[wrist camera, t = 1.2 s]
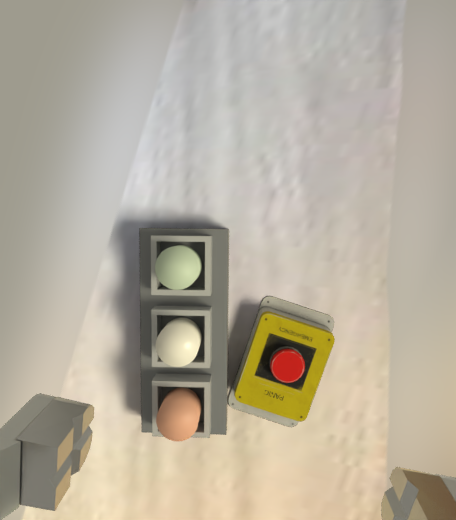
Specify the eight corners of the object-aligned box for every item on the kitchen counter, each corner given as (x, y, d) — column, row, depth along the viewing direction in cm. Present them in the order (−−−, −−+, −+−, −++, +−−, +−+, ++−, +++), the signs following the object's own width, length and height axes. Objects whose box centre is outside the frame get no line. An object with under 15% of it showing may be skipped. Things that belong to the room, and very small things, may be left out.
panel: (227, 420, 43) (225, 445, 38) (148, 418, 43) (136, 442, 38) (229, 229, 41) (227, 228, 36) (146, 228, 41) (133, 227, 36)
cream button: (201, 356, 38) (198, 367, 35) (162, 355, 38) (155, 366, 35) (201, 317, 37) (198, 325, 34) (162, 317, 38) (155, 324, 35)
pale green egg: (201, 285, 37) (198, 290, 34) (161, 285, 37) (155, 289, 34) (201, 245, 37) (198, 246, 34) (161, 244, 37) (154, 245, 34)
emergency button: (346, 326, 38) (301, 448, 39) (335, 316, 42) (295, 426, 43) (267, 299, 38) (224, 422, 39) (263, 292, 42) (225, 403, 43)
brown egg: (201, 425, 38) (198, 441, 35) (162, 424, 39) (156, 440, 36) (201, 388, 38) (198, 401, 35) (162, 387, 38) (156, 400, 35)
